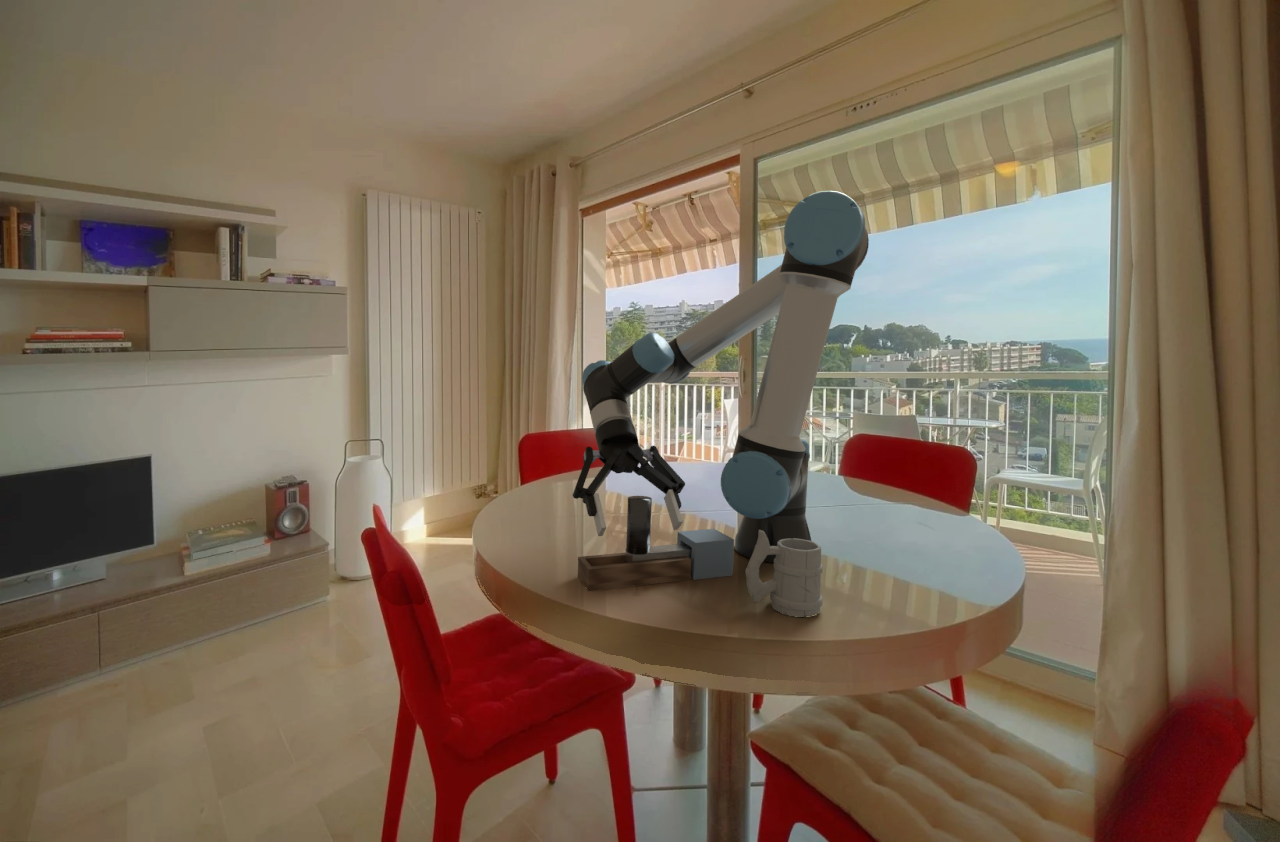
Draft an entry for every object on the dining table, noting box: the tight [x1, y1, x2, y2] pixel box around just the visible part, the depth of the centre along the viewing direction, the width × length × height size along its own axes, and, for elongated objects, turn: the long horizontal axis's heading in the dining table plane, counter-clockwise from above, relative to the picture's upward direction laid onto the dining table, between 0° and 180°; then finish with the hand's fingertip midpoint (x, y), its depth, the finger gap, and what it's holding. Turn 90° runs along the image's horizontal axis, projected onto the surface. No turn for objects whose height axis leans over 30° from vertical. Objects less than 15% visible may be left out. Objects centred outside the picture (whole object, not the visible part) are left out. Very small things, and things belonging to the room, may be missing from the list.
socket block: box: [676, 528, 735, 581], centre depth 99 cm, size 8×7×6 cm
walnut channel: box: [577, 552, 692, 592], centre depth 94 cm, size 18×6×4 cm, turn 112°
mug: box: [745, 530, 824, 618], centre depth 83 cm, size 8×12×12 cm, turn 98°
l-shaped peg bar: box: [625, 495, 692, 563], centre depth 96 cm, size 16×4×12 cm, turn 112°
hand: (641, 529), depth 92 cm, fingers open, 13 cm apart
